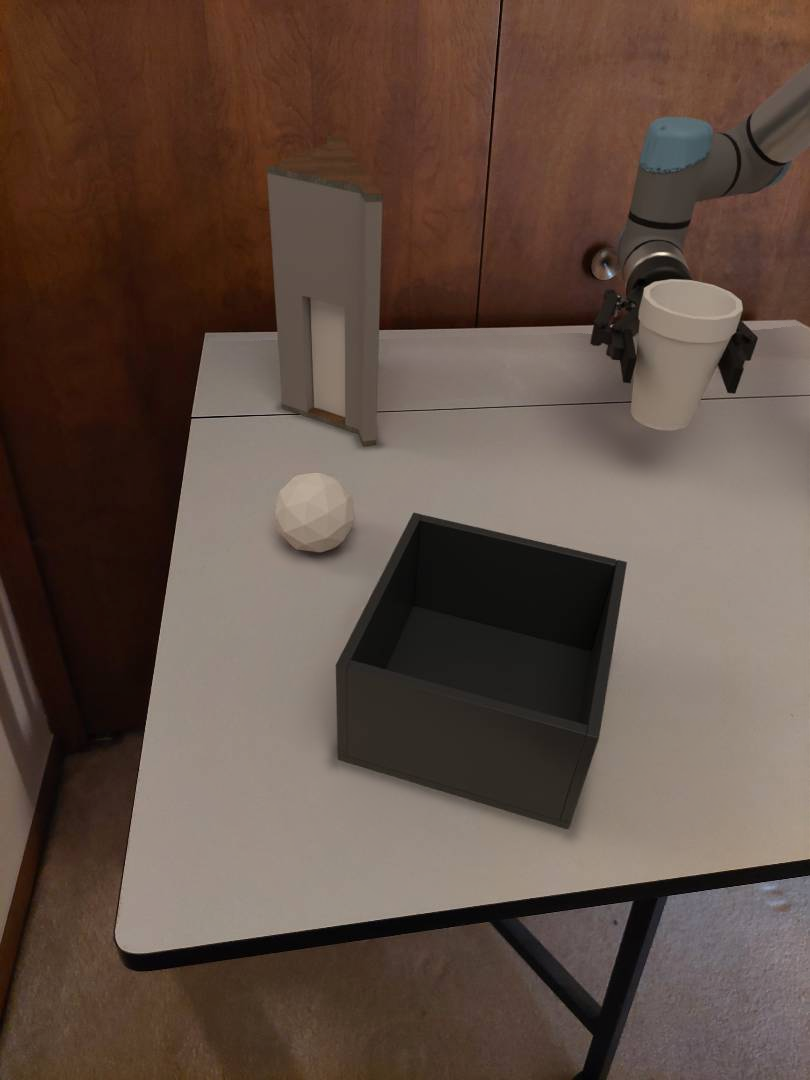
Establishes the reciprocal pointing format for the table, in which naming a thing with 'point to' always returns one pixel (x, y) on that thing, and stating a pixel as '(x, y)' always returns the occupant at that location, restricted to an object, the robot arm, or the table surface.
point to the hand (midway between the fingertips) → (682, 375)
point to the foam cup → (679, 348)
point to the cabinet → (327, 285)
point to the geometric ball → (314, 512)
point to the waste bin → (482, 667)
